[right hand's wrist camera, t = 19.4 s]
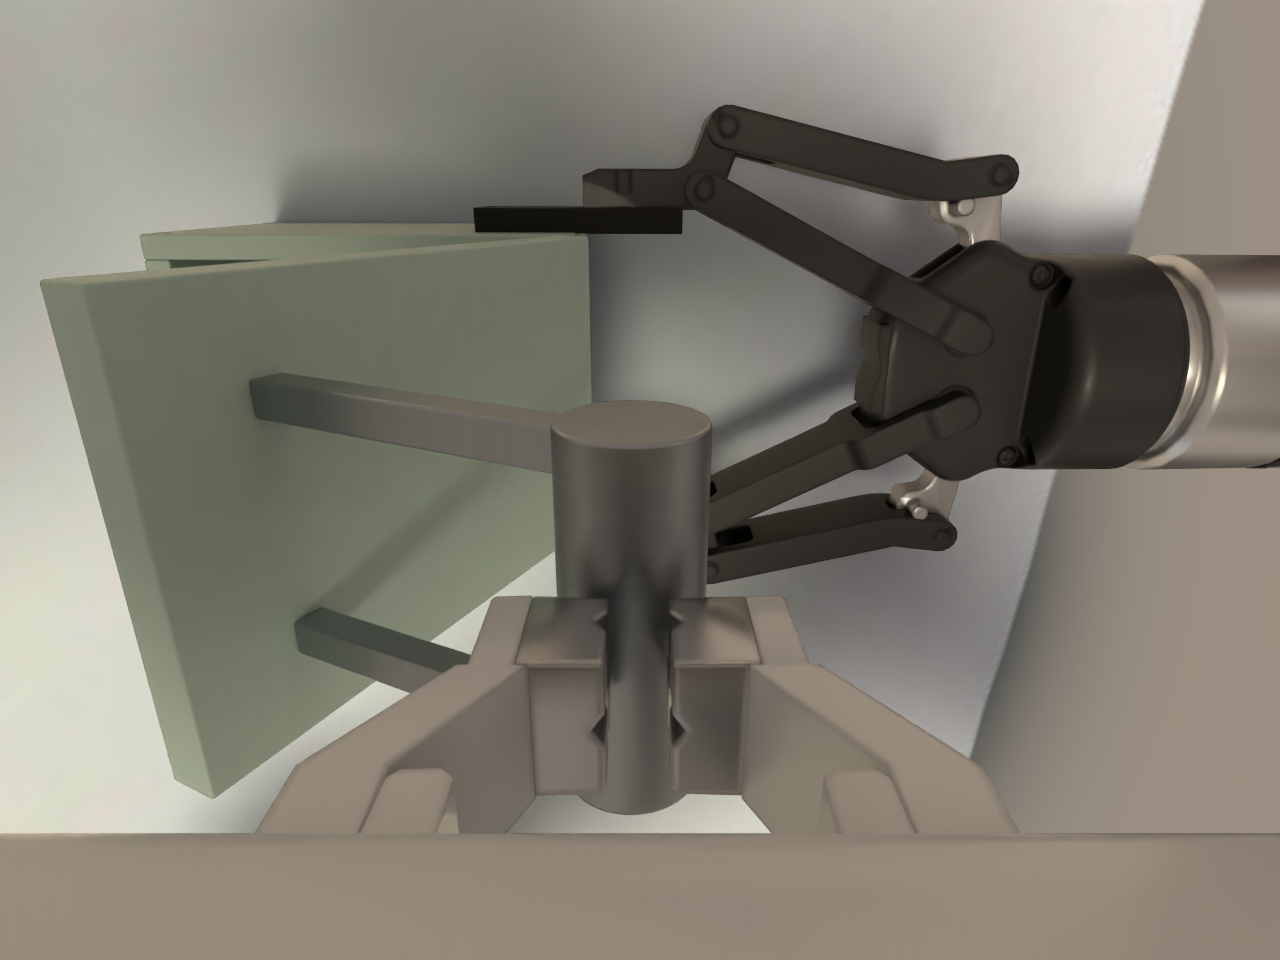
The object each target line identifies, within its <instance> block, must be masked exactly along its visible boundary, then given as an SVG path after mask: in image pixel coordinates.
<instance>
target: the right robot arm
mask: <svg viewBox="0 0 1280 960" xmlns="http://www.w3.org/2000/svg"><path fill="white" fill-rule="evenodd" d="M667 637H668V656H667V724H668V730H669V762H670V778H671V793H679V794H715V795H742V799H743V800H744V802H745V803H746V804H747V805H748V806H749V807H750V809H751V810H752V811H753V812H754V813H755V814H756V816H757V817H758V818H759V819H760V820H761V821H762V823H763V824H764V825H765V826H766V827H767V828H768V830H769V831H770V832H771V833H506V832H507V831H508V830H509V829H510V828H511V827H512V825H513V824H514V823H515V822H516V821H517V820H518V818H519V817H520V816H521V815H522V814H523V813H524V812H525V810H526V809H527V808H528V807H529V806H530V805H531V803H532V802H533V801H534V800H535V795H561V794H596V793H606V781H607V765H608V731H609V730H610V707H611V657H610V656H609V643H610V605H609V598H586V597H534V598H533V597H532V596H499V597H495V598H493V599H492V600H491V603H490V605H489V608H488V611H487V614H486V616H485V619H484V622H483V624H482V627H481V630H480V633H479V635H478V638H477V641H476V643H475V646H474V649H473V652H472V654H471V657H470V660H469V662H468V665H455V666H454V667H452V668H450V669H449V670H447V671H446V672H444V673H442V674H441V675H439V676H438V677H436V678H434V679H433V680H431V681H430V682H428V683H426V684H425V685H423V686H422V687H420V688H419V689H417V690H415V691H414V692H412V693H411V694H409V695H407V696H406V697H404V698H403V699H401V700H399V701H398V702H396V703H395V704H393V705H391V706H390V707H388V708H387V709H385V710H383V711H382V712H380V713H379V714H377V715H375V716H374V717H372V718H371V719H369V720H367V721H366V722H364V723H363V724H361V725H359V726H358V727H356V728H355V729H353V730H352V731H350V732H348V733H347V734H345V735H344V736H342V737H340V738H339V739H337V740H336V741H334V742H332V743H331V744H329V745H328V746H326V747H324V748H323V749H321V750H320V751H318V752H316V753H315V754H313V755H312V756H310V757H308V758H307V759H305V760H304V761H302V762H300V763H299V764H297V765H296V766H295V768H294V769H293V771H292V773H291V774H290V776H289V777H288V779H287V781H286V782H285V784H284V786H283V787H282V789H281V791H280V792H279V794H278V796H277V797H276V799H275V801H274V802H273V804H272V805H271V807H270V809H269V810H268V812H267V814H266V815H265V817H264V819H263V820H262V822H261V824H260V825H259V827H258V829H257V830H256V832H255V833H0V960H1280V833H1020V831H1019V829H1018V828H1017V826H1016V824H1015V823H1014V821H1013V819H1012V817H1011V816H1010V814H1009V812H1008V811H1007V809H1006V807H1005V806H1004V804H1003V802H1002V801H1001V799H1000V797H999V796H998V794H997V792H996V791H995V789H994V787H993V786H992V784H991V782H990V780H989V779H988V777H987V775H986V774H985V772H984V770H983V769H982V767H981V766H980V765H978V764H976V763H975V762H973V761H972V760H970V759H969V758H967V757H965V756H964V755H962V754H961V753H959V752H958V751H956V750H954V749H953V748H951V747H950V746H948V745H946V744H945V743H943V742H942V741H940V740H939V739H937V738H935V737H934V736H932V735H931V734H929V733H927V732H926V731H924V730H923V729H921V728H920V727H918V726H916V725H915V724H913V723H912V722H910V721H909V720H907V719H905V718H904V717H902V716H901V715H899V714H897V713H896V712H894V711H893V710H891V709H890V708H888V707H886V706H885V705H883V704H882V703H880V702H878V701H877V700H875V699H874V698H872V697H871V696H869V695H867V694H866V693H864V692H863V691H861V690H859V689H858V688H856V687H855V686H853V685H852V684H850V683H848V682H847V681H845V680H844V679H842V678H841V677H839V676H837V675H836V674H834V673H833V672H831V671H829V670H828V669H826V668H825V667H823V666H822V665H809V663H808V660H807V658H806V655H805V652H804V649H803V647H802V644H801V641H800V639H799V636H798V633H797V630H796V628H795V625H794V622H793V619H792V617H791V614H790V611H789V609H788V606H787V603H786V600H785V598H783V597H782V596H759V597H704V598H669V599H668V611H667Z"/></svg>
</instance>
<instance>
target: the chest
mask: <svg viewBox="0 0 1280 960" xmlns="http://www.w3.org/2000/svg"><path fill="white" fill-rule="evenodd" d="M547 236H585V237H587V234H576V233H509V232H475V223H406V222H272V223H263V224H254V225H242V226H231V227H219V228H207V229H196V230H184V231H173V232H161V233H149V234H141V235H140V240H141V245H142V249H143V254H144V258H145V259H146V261H145V264H146V268H147V271H149V270H161V269H172V268H184V267H196V266H208V265H219V264H231V263H243V262H254V261H266V260H278V259H290V258H301V257H313V256H325V255H336V254H348V253H360V252H372V251H383V250H395V249H407V248H418V247H430V246H442V245H454V244H465V243H477V242H489V241H500V240H512V239H524V238H536V237H547Z"/></svg>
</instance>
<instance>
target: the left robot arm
mask: <svg viewBox="0 0 1280 960" xmlns="http://www.w3.org/2000/svg"><path fill="white" fill-rule="evenodd" d="M735 157H738V158H742V159H746V160H750V161H754V162H757V163H761V164H765V165H769V166H773V167H777V168H781V169H785V170H789V171H792V172H796V173H800V174H804V175H808V176H812V177H816V178H820V179H824V180H827V181H831V182H835V183H839V184H843V185H847V186H851V187H855V188H859V189H862V190H866V191H870V192H874V193H878V194H882V195H886V196H890V197H894V198H899V199H904V200H919V201H928V211H929V215H930V217H931V218H932V219H933V221H935V222H937V223H938V224H944V225H949V226H951V227H953V228H954V229H955V230H956V232H957V234H958V237H959V243H958V244H956V245H955V246H953V247H952V248H950V249H949V250H947V251H946V252H944V253H943V254H941V255H940V256H938V257H937V258H936V259H934V260H933V261H931V262H930V263H928V264H927V265H925V266H924V267H922V268H921V269H920V270H918V271H917V272H915V273H914V274H912V275H911V276H909V277H908V278H906V277H905V276H903V275H901V274H899V273H897V272H895V271H893V270H891V269H889V268H887V267H885V266H883V265H881V264H879V263H877V262H875V261H873V260H872V259H870V258H868V257H866V256H864V255H863V254H861V253H859V252H857V251H856V250H854V249H852V248H850V247H848V246H847V245H845V244H843V243H841V242H839V241H838V240H836V239H834V238H832V237H830V236H829V235H827V234H825V233H823V232H821V231H820V230H818V229H816V228H814V227H812V226H811V225H809V224H807V223H805V222H803V221H802V220H800V219H798V218H796V217H794V216H793V215H791V214H789V213H787V212H785V211H784V210H782V209H780V208H778V207H777V206H775V205H773V204H771V203H769V202H768V201H766V200H764V199H762V198H760V197H759V196H757V195H755V194H753V193H751V192H750V191H748V190H746V189H744V188H742V187H741V186H739V185H737V184H735V183H733V182H732V181H730V180H728V179H727V178H728V175H729V173H730V170H731V167H732V165H733V162H734V159H735ZM1018 176H1019V167H1018V164H1017V162H1016V161H1015V159H1014V158H1012V157H1011V156H1009V155H1002V154H1000V155H989V156H979V157H968V158H960V159H953V160H945V161H943V160H939V159H936V158H932V157H928V156H924V155H921V154H917V153H913V152H909V151H905V150H902V149H898V148H894V147H890V146H886V145H883V144H879V143H875V142H871V141H868V140H864V139H860V138H856V137H852V136H849V135H845V134H841V133H837V132H833V131H830V130H826V129H822V128H818V127H815V126H811V125H807V124H803V123H799V122H796V121H792V120H788V119H784V118H780V117H777V116H773V115H769V114H765V113H762V112H758V111H754V110H750V109H746V108H743V107H739V106H735V105H724V106H721V107H719V108H717V109H716V110H715V111H714V112H713V113H711V114H710V115H709V116H708V117H707V118H706V119H705V120H704V123H703V125H702V127H701V132H700V135H699V138H698V141H697V143H696V146H695V149H694V152H693V154H692V156H691V158H690V160H689V161H688V162H687V163H686V164H685V165H684V166H682V167H681V168H677V169H597V170H594V171H592V172H590V173H587V174H585V175H583V207H567V206H485V207H477V208H473V209H474V223H475V232H509V233H576V234H682V215H683V210H696V211H698V212H700V213H701V214H703V215H705V216H707V217H709V218H711V219H713V220H714V221H716V222H718V223H720V224H722V225H724V226H725V227H727V228H729V229H731V230H733V231H735V232H736V233H738V234H740V235H742V236H744V237H746V238H747V239H749V240H751V241H753V242H755V243H757V244H758V245H760V246H762V247H764V248H766V249H768V250H770V251H771V252H773V253H775V254H777V255H779V256H781V257H782V258H784V259H786V260H788V261H790V262H792V263H793V264H795V265H797V266H799V267H801V268H803V269H804V270H806V271H808V272H810V273H812V274H814V275H815V276H817V277H819V278H821V279H823V280H825V281H827V282H828V283H830V284H832V285H834V286H836V287H838V288H839V289H841V290H843V291H844V292H846V293H848V294H850V295H852V296H854V297H855V298H857V299H859V300H861V301H863V302H865V303H866V304H868V305H870V306H872V309H871V311H870V312H869V315H868V316H863V320H862V330H861V342H862V348H863V354H864V360H863V363H862V365H861V368H860V371H859V373H858V376H857V379H856V386H855V395H854V400H855V401H857V403H855V404H852V405H850V406H848V407H846V408H844V409H842V410H840V411H838V412H836V413H834V414H833V415H832V416H831V417H830V418H829V420H828V421H827V422H825V423H823V424H821V425H819V426H816V427H814V428H812V429H810V430H808V431H806V432H804V433H801V434H799V435H797V436H795V437H793V438H791V439H789V440H786V441H784V442H782V443H780V444H778V445H776V446H773V447H771V448H769V449H767V450H765V451H763V452H761V453H758V454H756V455H754V456H752V457H750V458H748V459H746V460H743V461H741V462H739V463H737V464H735V465H733V466H731V467H728V468H726V469H724V470H722V471H720V472H718V473H715V474H713V475H711V476H710V500H709V527H708V553H707V579H706V584H715V583H720V582H724V581H729V580H734V579H739V578H744V577H748V576H753V575H758V574H763V573H768V572H773V571H777V570H782V569H787V568H792V567H797V566H801V565H806V564H811V563H816V562H821V561H825V560H830V559H835V558H840V557H845V556H850V555H854V554H859V553H864V552H869V551H874V550H878V549H883V548H888V547H893V546H895V547H904V548H913V549H922V550H931V551H944V550H946V549H948V548H950V547H951V546H952V545H953V544H954V543H955V541H956V539H957V530H956V528H955V527H954V526H953V525H952V524H951V523H950V521H949V520H948V518H949V514H950V511H951V507H952V504H953V501H954V497H955V494H956V491H957V487H958V484H959V481H961V480H965V479H968V478H970V477H972V476H974V475H976V474H978V473H980V472H983V471H986V470H989V469H994V468H1011V469H1112V468H1119V467H1122V466H1126V467H1131V468H1136V469H1193V468H1280V255H1153V256H1151V257H1148V258H1144V257H1141V256H1137V255H1127V254H1022V253H1020V252H1018V251H1016V250H1014V249H1013V248H1011V247H1010V246H1008V245H1007V244H1005V243H1003V242H1000V229H1001V208H1002V194H1005V193H1007V192H1008V191H1010V190H1011V189H1012V188H1013V187H1014V185H1015V184H1016V182H1017V180H1018ZM905 454H907V455H908V456H910V457H911V458H912V459H914V460H915V461H916V462H918V463H919V464H920V465H922V466H923V467H924V468H925V470H924V473H923V474H922V475H921V477H919V478H918V479H917V480H915V481H912V482H907V483H898V484H895V485H894V486H893V487H892V490H891V494H885V493H877V494H866V495H859V496H854V497H850V498H845V499H840V500H835V501H831V502H826V503H821V504H817V505H812V506H807V507H803V508H798V509H793V510H788V511H784V512H779V513H774V514H770V515H765V516H760V517H755V518H751V519H748V518H750V517H753V516H755V515H757V514H759V513H761V512H764V511H766V510H768V509H770V508H773V507H775V506H777V505H779V504H781V503H784V502H786V501H788V500H790V499H792V498H795V497H797V496H799V495H801V494H803V493H806V492H808V491H810V490H812V489H814V488H817V487H819V486H821V485H823V484H825V483H828V482H830V481H832V480H834V479H837V478H839V477H841V476H843V475H845V474H848V473H850V472H852V471H855V470H869V469H873V468H876V467H878V466H880V465H882V464H885V463H887V462H889V461H891V460H893V459H896V458H898V457H900V456H902V455H905Z"/></svg>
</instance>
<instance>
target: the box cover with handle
mask: <svg viewBox="0 0 1280 960" xmlns="http://www.w3.org/2000/svg"><path fill="white" fill-rule="evenodd" d="M40 286H41V290H42V293H43V297H44V301H45V304H46V308H47V312H48V315H49V319H50V323H51V326H52V330H53V334H54V337H55V341H56V345H57V348H58V352H59V356H60V359H61V363H62V367H63V370H64V374H65V378H66V381H67V385H68V389H69V392H70V396H71V400H72V403H73V407H74V411H75V415H76V418H77V422H78V426H79V429H80V433H81V437H82V440H83V444H84V448H85V451H86V455H87V459H88V462H89V466H90V470H91V473H92V477H93V481H94V484H95V488H96V492H97V495H98V499H99V503H100V506H101V510H102V514H103V517H104V521H105V525H106V528H107V532H108V536H109V540H110V543H111V547H112V551H113V554H114V558H115V562H116V565H117V569H118V573H119V576H120V580H121V584H122V587H123V591H124V595H125V598H126V602H127V606H128V609H129V613H130V617H131V620H132V624H133V628H134V631H135V635H136V639H137V642H138V646H139V650H140V653H141V657H142V661H143V665H144V668H145V672H146V676H147V679H148V683H149V687H150V690H151V694H152V698H153V701H154V705H155V709H156V712H157V716H158V720H159V723H160V727H161V731H162V734H163V738H164V742H165V745H166V749H167V753H168V756H169V760H170V764H171V767H172V771H173V775H174V778H175V780H176V781H178V782H180V783H182V784H184V785H186V786H188V787H190V788H192V789H194V790H196V791H197V792H199V793H201V794H203V795H205V796H207V797H209V798H211V799H214V798H216V797H217V796H218V795H220V794H221V793H223V792H224V791H225V790H227V789H228V788H229V787H231V786H232V785H234V784H235V783H236V782H238V781H239V780H240V779H242V778H243V777H245V776H246V775H247V774H249V773H250V772H251V771H253V770H254V769H256V768H257V767H258V766H260V765H261V764H262V763H264V762H265V761H267V760H268V759H269V758H271V757H272V756H273V755H275V754H276V753H278V752H279V751H280V750H282V749H283V748H284V747H286V746H287V745H288V744H290V743H291V742H293V741H294V740H295V739H297V738H298V737H299V736H301V735H302V734H304V733H305V732H306V731H308V730H309V729H310V728H312V727H313V726H315V725H316V724H317V723H319V722H320V721H321V720H323V719H324V718H326V717H327V716H328V715H330V714H331V713H332V712H334V711H335V710H337V709H338V708H339V707H341V706H342V705H343V704H345V703H346V702H348V701H349V700H350V699H352V698H353V697H354V696H356V695H357V694H359V693H360V692H361V691H363V690H364V689H365V688H367V687H368V686H370V685H371V684H372V683H374V682H375V681H378V682H381V683H384V684H387V685H389V686H392V687H395V688H398V689H400V690H403V691H406V692H409V693H412V692H414V691H415V690H417V689H419V688H420V687H422V686H423V685H425V684H426V683H428V682H430V681H431V680H433V679H434V678H436V677H438V676H439V675H441V674H442V673H444V672H446V671H447V670H449V669H450V668H452V667H454V666H455V665H468V662H469V660H470V657H471V655H469V654H466V653H463V652H460V651H457V650H454V649H450V648H447V647H444V646H441V645H438V644H435V643H432V642H430V641H431V640H433V639H434V638H435V637H437V636H438V635H440V634H441V633H442V632H444V631H445V630H446V629H448V628H449V627H451V626H452V625H453V624H455V623H456V622H457V621H459V620H460V619H462V618H463V617H464V616H466V615H467V614H468V613H470V612H471V611H473V610H474V609H475V608H477V607H478V606H479V605H481V604H482V603H483V602H485V601H486V600H488V599H489V598H490V597H492V596H493V595H494V594H496V593H497V592H499V591H500V590H501V589H503V588H504V587H505V586H507V585H508V584H510V583H511V582H512V581H514V580H515V579H516V578H518V577H519V576H521V575H522V574H523V573H525V572H526V571H527V570H529V569H530V568H532V567H533V566H534V565H536V564H537V563H538V562H540V561H541V560H543V559H544V558H545V557H547V556H548V555H549V554H551V553H552V552H554V551H555V557H556V582H557V597H586V598H609V605H610V643H609V656H610V657H611V707H610V730H609V731H608V765H607V781H606V793H596V794H577V795H578V796H579V797H580V798H581V799H582V800H584V801H585V802H587V803H588V804H590V805H591V806H594V807H596V808H598V809H600V810H603V811H606V812H610V813H615V814H623V815H640V814H647V813H652V812H656V811H659V810H662V809H665V808H667V807H669V806H671V805H673V804H675V803H676V802H678V801H679V800H680V799H682V798H683V797H684V796H685V795H686V794H679V793H671V778H670V762H669V730H668V724H667V656H668V637H667V611H668V599H669V598H704V597H706V579H707V553H708V527H709V500H710V474H711V448H712V424H711V421H710V419H709V418H708V417H707V416H706V415H705V414H703V413H701V412H699V411H697V410H694V409H691V408H688V407H685V406H681V405H676V404H671V403H665V402H656V401H641V400H621V401H606V402H598V403H592V388H591V340H590V292H589V243H588V237H585V236H547V237H536V238H524V239H512V240H500V241H489V242H477V243H465V244H454V245H442V246H430V247H418V248H407V249H395V250H383V251H372V252H360V253H348V254H336V255H325V256H313V257H301V258H290V259H278V260H266V261H254V262H243V263H231V264H219V265H208V266H196V267H184V268H172V269H161V270H149V271H137V272H126V273H114V274H102V275H90V276H79V277H67V278H55V279H44V280H42V281H40Z"/></svg>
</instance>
